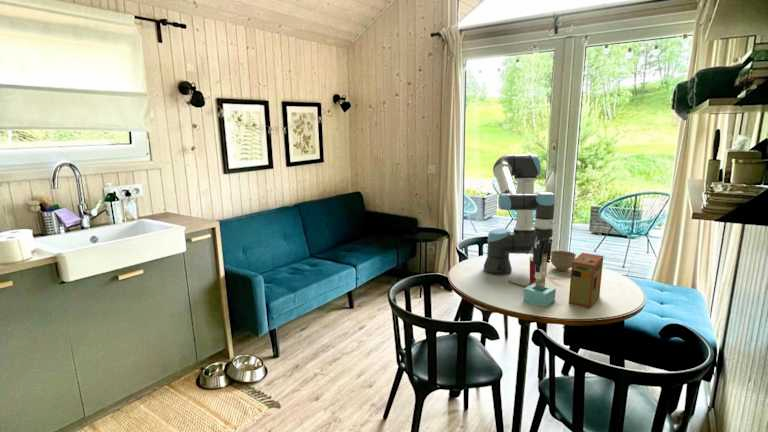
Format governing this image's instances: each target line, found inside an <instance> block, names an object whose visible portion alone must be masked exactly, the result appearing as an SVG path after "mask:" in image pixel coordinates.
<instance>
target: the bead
mask: <svg viewBox="0 0 768 432" xmlns="http://www.w3.org/2000/svg"><path fill="white" fill-rule="evenodd" d="M527 286H528V287H523V301H524V302H527V303H529V304H530V303H531V304H532V305H535V306H539V307H543V308H545V307H547V306H549V305H550V304H552V303H554V302H555V301H556V290H557V289H556V287H552V286H549V285H545V288H537V287H535V286H536V283H534V284H529V285H527Z"/></svg>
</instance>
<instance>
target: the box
mask: <svg viewBox="0 0 768 432" xmlns="http://www.w3.org/2000/svg"><path fill="white" fill-rule="evenodd" d="M603 264H604V255H600V254H593V253H587V252H581V253H579V255H578V256H577V257H575V260H573V261H572V267H571V268H570V269H571V270H570V283H569V295H568V305H571V306H575V307H579V308H583V309H586V310H587V309H588V310H591V309H592V308H593V306H594V305H595V303H597V301H598V299H599V298H600V294H601V285H602V283H601V282H602V274H603Z"/></svg>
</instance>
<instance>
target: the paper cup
mask: <svg viewBox="0 0 768 432" xmlns="http://www.w3.org/2000/svg"><path fill="white" fill-rule="evenodd" d="M528 259H529V284H530V285H532V284H534V283H536V278H535V268H536V265H535V264H533V254H531V255H530V256H529V258H528Z"/></svg>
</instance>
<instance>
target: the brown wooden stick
mask: <svg viewBox="0 0 768 432" xmlns="http://www.w3.org/2000/svg"><path fill="white" fill-rule="evenodd" d="M507 282H508V283H509V284H513V285H515V286H519V287H522V288H526V287H528V286H529V285H526V284H522V283H519V282H514V281H511V280H508V281H507Z"/></svg>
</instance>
